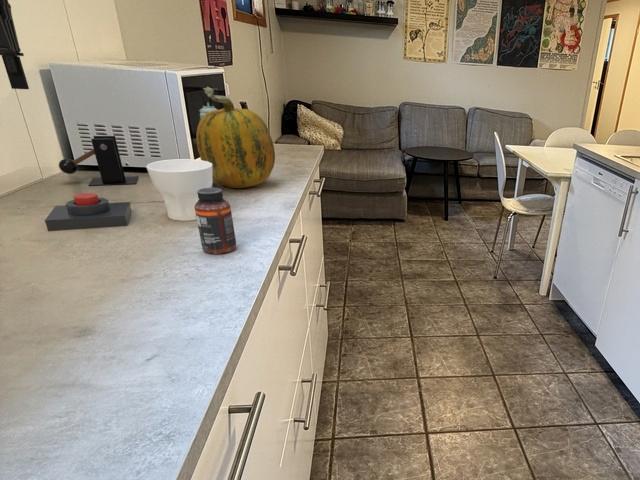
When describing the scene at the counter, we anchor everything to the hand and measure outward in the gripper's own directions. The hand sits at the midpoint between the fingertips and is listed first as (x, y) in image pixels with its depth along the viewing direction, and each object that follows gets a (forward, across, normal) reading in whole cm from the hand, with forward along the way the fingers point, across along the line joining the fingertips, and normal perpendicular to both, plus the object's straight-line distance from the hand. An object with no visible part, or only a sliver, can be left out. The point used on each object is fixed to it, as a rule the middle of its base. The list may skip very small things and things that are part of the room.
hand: (20, 88), depth 105 cm
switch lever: (+17, +1, -9) cm, 19 cm away
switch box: (+22, -29, -12) cm, 38 cm away
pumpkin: (+22, -5, -43) cm, 48 cm away
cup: (+22, -29, -29) cm, 47 cm away
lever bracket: (+22, +1, -13) cm, 26 cm away
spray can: (+22, +9, -38) cm, 45 cm away
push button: (+19, -29, -11) cm, 36 cm away
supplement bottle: (+22, -52, -34) cm, 66 cm away
